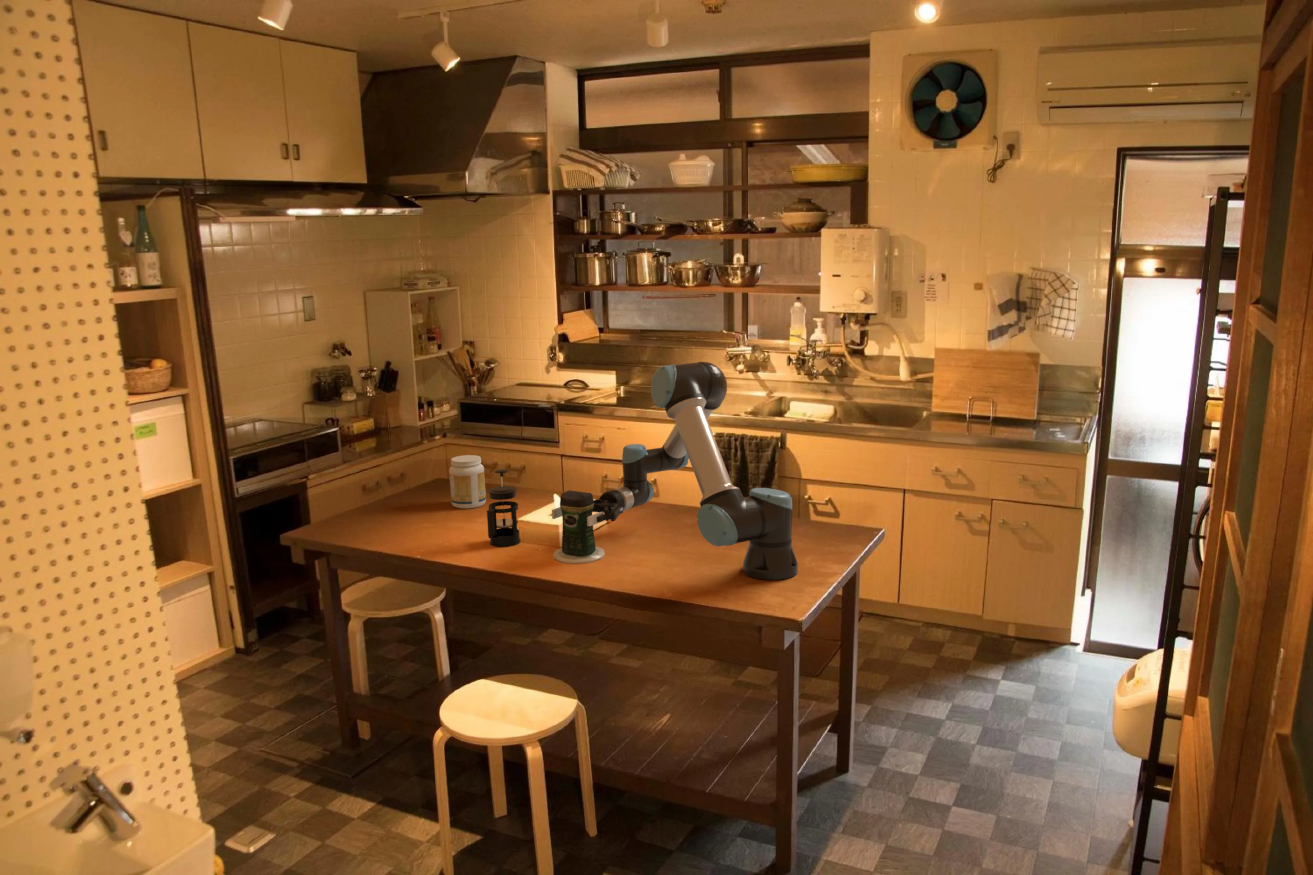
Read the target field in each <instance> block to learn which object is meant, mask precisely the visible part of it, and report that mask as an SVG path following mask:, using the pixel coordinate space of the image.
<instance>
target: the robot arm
mask: <svg viewBox="0 0 1313 875" xmlns="http://www.w3.org/2000/svg"><path fill="white" fill-rule="evenodd" d="M650 383H651V384H650V394H651V400H652V402H653V404H654V405H655V406H656V407H657V408H660V409H664V410H665V412H666V413H665V414H666V416H667V417H668V418H669V419H672V420H674V421H675V425H674V426H673V428H672V430H671V432H670V433H669V435H668V437H667V438H666V440H665V441H664V443H663V445H662V447H657V448H656V447H655V448H650V449H647V446H646V445H644V444H640V443H631V444H626V445H625V446H624V447H623V448H622V454H621V455H622V458H621V463H622V484H623V485H622V486H619V487H616V488H613V489H611V490H608V491H605V492H603V493H602V494H601V495H600V496H599V498H596V499H593V501H594V507H593V510H592V513H594V514H592V515H591V516H589V517H587V526H589V527H590V526H592V525H593V526H594V525H597V524H600V523H602V522H604V521H605V522H607V521H611V522H615V521H617V519H618V517H619V516H620V515H621V514H623V513H624V512H626V511H628V510H631V509H633V508H636V507H638V506H639V507H640V506H642V505H644V504H647V503H648V502H650V501H651V500H652V499H653V497H654V494H655V491H654V487H653V484H652V483H651V482H650V481H649V480H648V474H653V473H659V472H665V471H674V470H676V471H677V470H679V469H683V468H686V466H687V465H688V464H689V463H690V465H691V468H692V471H693V473H694V476H695V478H696V481H697V484H698V488H699V489H700V492H701V495H702V498H701V499H700V501H699V506H700V507H699V509H698V510H697V513H696V514H697V515H696V517H697V520H696V521H697V526H698V529H699V532H700V533H701V535H702V538H704V539H705V541H706V542H708V543H709V544H711V545H712V546H714V547H724V546H730V547H731V546H733V545H735V544H741V543H744V542H749V543H748V547H747V551H746V553H745V556H744V559H743V562H742V571H743V573H744V574H745V575H747V576H748V577H751V578H753V579H758V580H763V581H764V580H766V581H777V580H778V581H780V580H786V579H789V578H790V579H791V578H793V577H795V576H796V575H797V574H798V573H799V571H798V570H799V564H798V561H797V557H796V553H795V551H794V547H793V543H792V542H793V541H792V540H793V536H792V535H793V509H794V507H793V498H792V496H791V495H790V493H788V492H786V491H783V490H779V489H774V488H767V487H754V488H751V489H750V490H749V493H748V495H749V496H747V497H744V496H743V493H742V490H741V489H740V487H737V486H735V485H733V483H732V480H731V478H730V475H729V473H728V470H727V468H726V465H725V462H724V459H723V457H722V455H721V452H720V449H719V446H718V444H717V441H716V439H715V436H714V433H713V430H712V428H711V426H710V423H709V417H711V414H712V413H713V411H716V410H718V409H719V408H720V406H721V405H722V404H723V402H724V400H725V398H726V396H727V391H728V383H727V378H726V375H725V374H724V372H723V371H722V370H721V368H719V367H718V366H717V365H715V364H714V363H712V362H708V361H699V362H690V363H687V362H686V363H677V364H673V363H671V364H669V365H668V364H667V365H662V366H660V367H658V368H657V369H656V370H655V372H654V373H653V375H652V378H651V382H650ZM560 517H562V511H561V508H560V506H558V507H555V508H554V509H551V518H552V519H551V520H555V519H558V518H560Z"/></svg>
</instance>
